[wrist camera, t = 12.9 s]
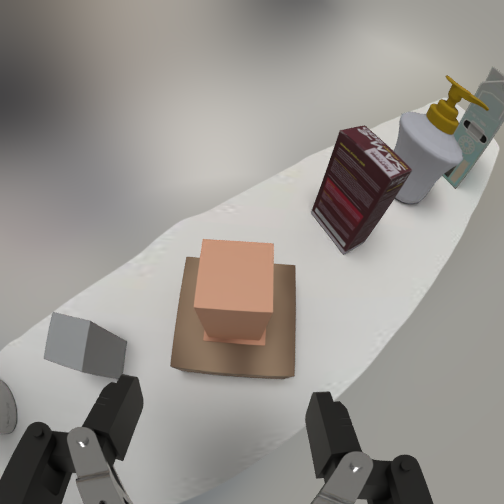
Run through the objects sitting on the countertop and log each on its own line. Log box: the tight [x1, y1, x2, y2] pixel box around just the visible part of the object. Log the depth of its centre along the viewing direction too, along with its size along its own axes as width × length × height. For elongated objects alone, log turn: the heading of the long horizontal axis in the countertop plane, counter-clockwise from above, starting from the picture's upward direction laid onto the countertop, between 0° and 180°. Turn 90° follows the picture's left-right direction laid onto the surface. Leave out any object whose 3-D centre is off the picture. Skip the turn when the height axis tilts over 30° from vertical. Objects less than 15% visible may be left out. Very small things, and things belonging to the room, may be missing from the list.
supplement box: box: [311, 126, 412, 254], centre depth 33 cm, size 9×5×16 cm, turn 30°
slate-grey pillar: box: [44, 312, 127, 379], centre depth 25 cm, size 5×5×10 cm
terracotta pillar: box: [194, 239, 274, 340], centre depth 23 cm, size 5×5×10 cm
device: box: [443, 67, 504, 189], centre depth 39 cm, size 16×8×30 cm, turn 126°
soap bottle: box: [394, 76, 489, 204], centre depth 35 cm, size 13×13×25 cm
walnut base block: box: [170, 257, 296, 379], centre depth 30 cm, size 12×12×6 cm
